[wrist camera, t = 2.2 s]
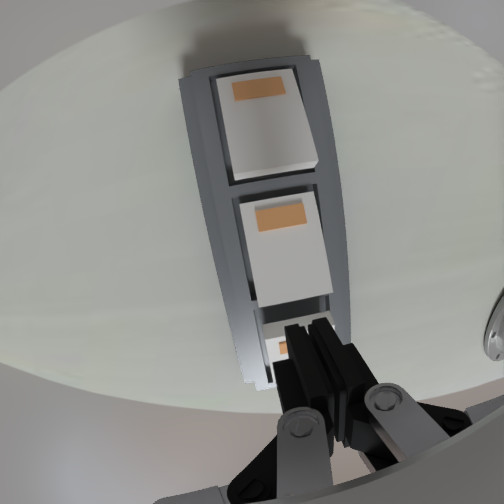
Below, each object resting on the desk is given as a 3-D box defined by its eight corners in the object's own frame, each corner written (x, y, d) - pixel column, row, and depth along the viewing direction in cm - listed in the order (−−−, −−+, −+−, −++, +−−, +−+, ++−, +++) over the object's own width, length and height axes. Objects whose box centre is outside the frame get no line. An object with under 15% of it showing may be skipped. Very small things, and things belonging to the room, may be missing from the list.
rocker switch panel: (341, 344, 26) (354, 368, 22) (243, 365, 26) (245, 392, 22) (309, 69, 19) (323, 54, 15) (184, 87, 18) (175, 74, 15)
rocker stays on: (314, 167, 16) (319, 159, 15) (234, 180, 16) (233, 173, 15) (289, 79, 16) (292, 67, 15) (217, 89, 16) (215, 77, 15)
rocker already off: (325, 358, 22) (329, 372, 21) (270, 369, 22) (273, 384, 21) (329, 310, 19) (335, 326, 18) (262, 324, 19) (265, 341, 18)
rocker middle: (328, 290, 18) (333, 292, 17) (258, 304, 18) (258, 308, 17) (309, 195, 18) (313, 190, 17) (240, 207, 18) (239, 203, 17)
